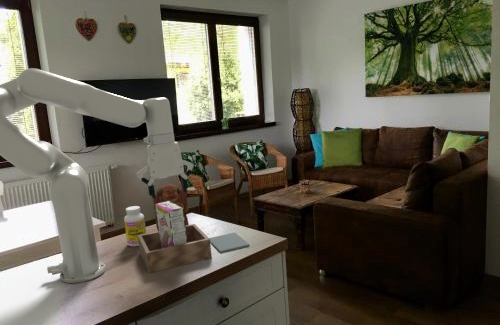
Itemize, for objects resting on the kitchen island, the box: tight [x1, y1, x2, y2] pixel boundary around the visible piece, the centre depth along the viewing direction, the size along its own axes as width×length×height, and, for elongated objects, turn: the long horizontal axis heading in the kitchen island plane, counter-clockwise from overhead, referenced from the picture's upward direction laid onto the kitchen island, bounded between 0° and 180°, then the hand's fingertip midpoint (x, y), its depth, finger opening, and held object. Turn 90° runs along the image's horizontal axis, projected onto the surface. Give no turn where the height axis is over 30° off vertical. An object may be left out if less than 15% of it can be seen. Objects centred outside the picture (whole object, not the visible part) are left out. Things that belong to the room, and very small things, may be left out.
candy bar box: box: [155, 201, 187, 249], centre depth 130 cm, size 11×5×16 cm, turn 34°
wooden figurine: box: [152, 183, 190, 231], centre depth 151 cm, size 12×6×18 cm, turn 125°
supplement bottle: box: [123, 205, 147, 247], centre depth 143 cm, size 7×7×13 cm
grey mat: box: [208, 232, 250, 254], centre depth 138 cm, size 10×13×1 cm
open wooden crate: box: [138, 223, 212, 274], centre depth 131 cm, size 19×17×6 cm
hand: (169, 194), depth 128 cm, fingers open, 9 cm apart
